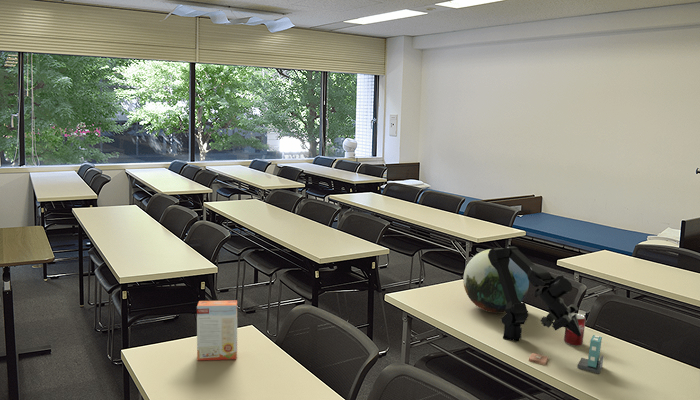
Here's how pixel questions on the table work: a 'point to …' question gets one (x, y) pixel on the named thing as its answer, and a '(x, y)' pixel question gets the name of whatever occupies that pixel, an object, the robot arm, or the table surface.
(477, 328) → the table surface
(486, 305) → the decorative globe
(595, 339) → the key two
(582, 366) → the key two base
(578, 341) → the soda can
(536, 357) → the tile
